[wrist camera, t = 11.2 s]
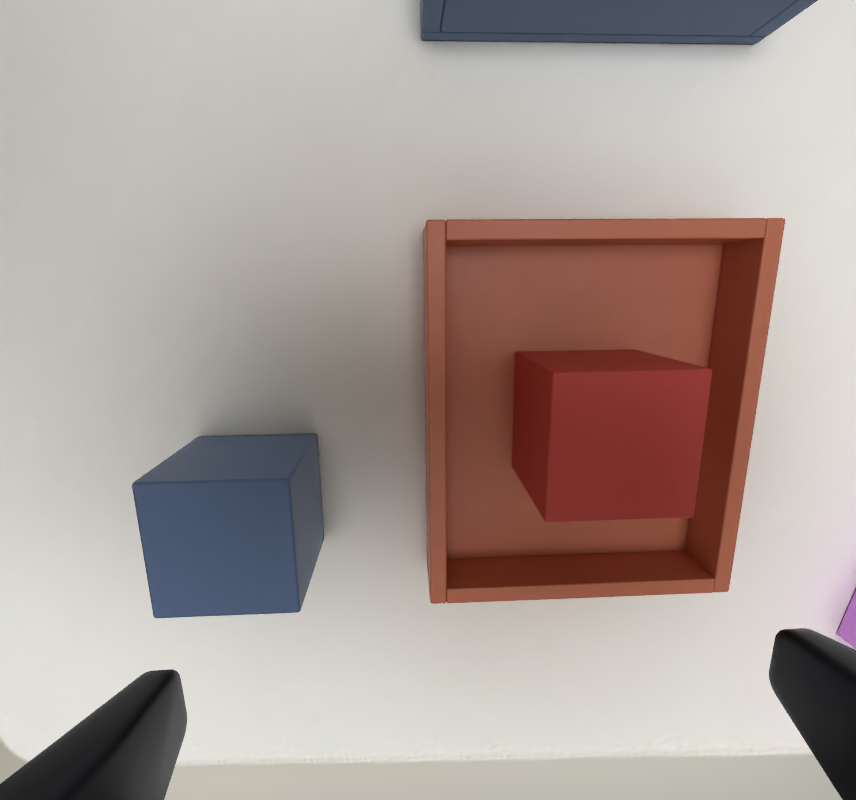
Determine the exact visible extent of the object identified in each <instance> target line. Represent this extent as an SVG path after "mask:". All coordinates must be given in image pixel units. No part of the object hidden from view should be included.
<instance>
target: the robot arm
mask: <svg viewBox="0 0 856 800" xmlns="http://www.w3.org/2000/svg"><path fill="white" fill-rule="evenodd" d="M769 679H770V683H771V686H772V688H773V690H774V692H775V694H776V696H777V697H778V699H779V700H780V702H781V704H782V705H783V707H784V708H785V710H786V711H787V713H788V715H789V716H790V718H791V719H792V721H793V723H794V724H795V726H796V727H797V729H798V730H799V732H800V734H801V735H802V737H803V738H804V740H805V741H806V743H807V745H808V746H809V748H810V749H811V751H812V752H813V754H814V756H815V757H816V759H817V760H818V762H819V763H820V765H821V767H822V768H823V770H824V771H825V773H826V774H827V776H828V778H829V779H830V781H831V782H832V784H833V786H834V787H835V789H836V790H837V792H838V793H839V795H840V796H841V798H842V799H843V800H856V650H855V649H852V648H850V647H848V646H846V645H844V644H841V643H839V642H837V641H835V640H833V639H830V638H828V637H826V636H824V635H822V634H819V633H817V632H815V631H813V630H810V629H805V628H800V629H785V630H781V631H779V632H778V634H777V635H776V637H775V641H774V647H773V653H772V658H771V664H770V669H769ZM186 725H187V712H186V707H185V701H184V695H183V690H182V684H181V679H180V675H179V673H178V672H177V671H175V670H158V671H149V672H146V673H144V674H143V675H141V676H140V677H138V678H137V679H136V680H134V681H133V682H132V683H131V684H129V685H128V686H127V687H125V688H124V689H123V690H122V691H120V692H119V693H118V694H116V695H115V696H114V697H112V698H111V699H110V700H109V701H107V702H106V703H105V704H103V705H102V706H101V707H99V708H98V709H97V710H96V711H94V712H93V713H92V714H90V715H89V716H88V717H87V718H85V719H84V720H83V721H81V722H80V723H79V724H77V725H76V726H75V727H74V728H72V729H71V730H70V731H68V732H67V733H66V734H64V735H63V736H62V737H61V738H59V739H58V740H57V741H55V742H54V743H53V744H52V745H50V746H49V747H48V748H46V749H45V750H44V751H42V752H41V753H40V754H39V755H37V756H36V757H35V758H33V759H32V760H31V761H29V762H28V763H27V764H26V765H24V766H23V767H22V768H20V769H19V770H18V771H16V772H15V773H14V774H13V775H11V776H10V777H9V778H7V779H6V780H5V781H4V782H2V783H1V784H0V800H164V798H165V795H166V791H167V788H168V785H169V782H170V779H171V776H172V773H173V769H174V767H175V763H176V760H177V757H178V754H179V751H180V748H181V745H182V742H183V738H184V735H185V731H186Z"/></svg>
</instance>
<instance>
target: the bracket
mask: <svg viewBox="0 0 856 800" xmlns="http://www.w3.org/2000/svg"><path fill="white" fill-rule="evenodd" d="M837 634H838V635H839V636H840V637H841V638H843V639H844V640H845V641H846V642H848V643H849V644H850V645H851V646H853V647H854V648H855V649H856V591H855V593H854V595H853V598H852V600H851V602H850V604H849V607H848V609H847V611H846V614H845V616H844V618H843V620H842V623H841V625H840V627H839V630H838V632H837Z"/></svg>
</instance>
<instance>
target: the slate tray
mask: <svg viewBox="0 0 856 800" xmlns="http://www.w3.org/2000/svg"><path fill="white" fill-rule="evenodd" d="M816 1H817V0H420V23H421V39H422V40H474V41H555V42H637V43H719V44H756V43H758V42H759V41H761V40H762V39H763V38H765V37H766V36H768V35H769V34H771V33H772V32H773V31H775V30H776V29H778V28H779V27H781V26H782V25H783V24H785V23H786V22H788V21H789V20H790V19H792V18H793V17H795V16H796V15H798V14H799V13H800V12H802V11H803V10H805V9H806V8H808V7H809V6H810V5H812V4H813V3H815V2H816Z"/></svg>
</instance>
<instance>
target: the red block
mask: <svg viewBox="0 0 856 800" xmlns="http://www.w3.org/2000/svg"><path fill="white" fill-rule="evenodd" d="M711 377H712V369H710V368H706V367H702V366H698V365H694V364H690V363H686V362H683V361H679V360H675V359H671V358H667V357H663V356H659V355H655V354H651V353H647V352H643V351H639V350H635V349H626V350H569V351H517V352H516V353H515V377H514V410H513V442H512V468H513V470H514V471H515V473H516V474H517V476H518V478H519V479H520V481H521V483H522V484H523V486H524V488H525V489H526V491H527V493H528V494H529V496H530V498H531V499H532V501H533V503H534V504H535V506H536V507H537V509H538V511H539V512H540V514H541V516H542V517H543V519H544V521H545V522H572V521H602V520H632V519H662V518H691V517H693V516H694V510H695V502H696V494H697V486H698V478H699V471H700V463H701V455H702V447H703V439H704V431H705V424H706V416H707V408H708V400H709V392H710V384H711Z"/></svg>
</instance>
